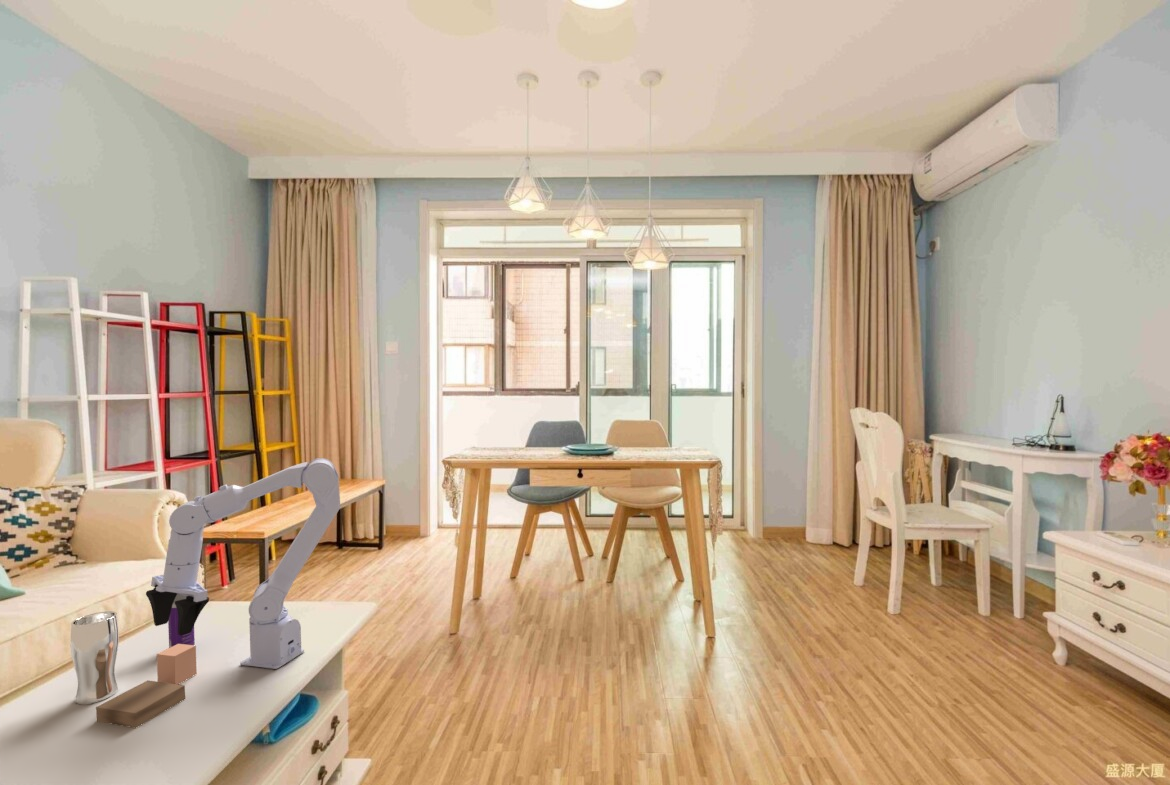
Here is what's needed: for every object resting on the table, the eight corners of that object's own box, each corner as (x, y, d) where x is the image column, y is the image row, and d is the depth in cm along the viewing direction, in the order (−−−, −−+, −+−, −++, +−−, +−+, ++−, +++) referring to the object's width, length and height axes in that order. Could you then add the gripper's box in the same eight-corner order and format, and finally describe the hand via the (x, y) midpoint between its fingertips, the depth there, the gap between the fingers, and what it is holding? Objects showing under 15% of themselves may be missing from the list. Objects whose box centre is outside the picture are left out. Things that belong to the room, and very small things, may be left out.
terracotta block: (196, 674, 113) (195, 645, 113) (175, 686, 109) (174, 656, 109) (179, 672, 114) (178, 643, 114) (157, 684, 110) (156, 654, 110)
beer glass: (129, 689, 108) (126, 612, 108) (87, 709, 102) (84, 627, 101) (105, 683, 110) (103, 609, 110) (63, 702, 104) (60, 623, 104)
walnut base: (185, 701, 104) (184, 685, 104) (136, 730, 95) (135, 713, 95) (148, 695, 106) (147, 680, 106) (96, 723, 98) (96, 707, 98)
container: (184, 652, 123) (182, 585, 123) (163, 653, 123) (161, 586, 123) (199, 643, 127) (197, 578, 127) (179, 643, 128) (177, 578, 127)
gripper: (139, 558, 112) (128, 625, 111) (185, 573, 106) (174, 644, 106) (176, 551, 118) (166, 616, 118) (221, 565, 113) (211, 633, 112)
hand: (172, 629), depth 112 cm, fingers open, 7 cm apart
